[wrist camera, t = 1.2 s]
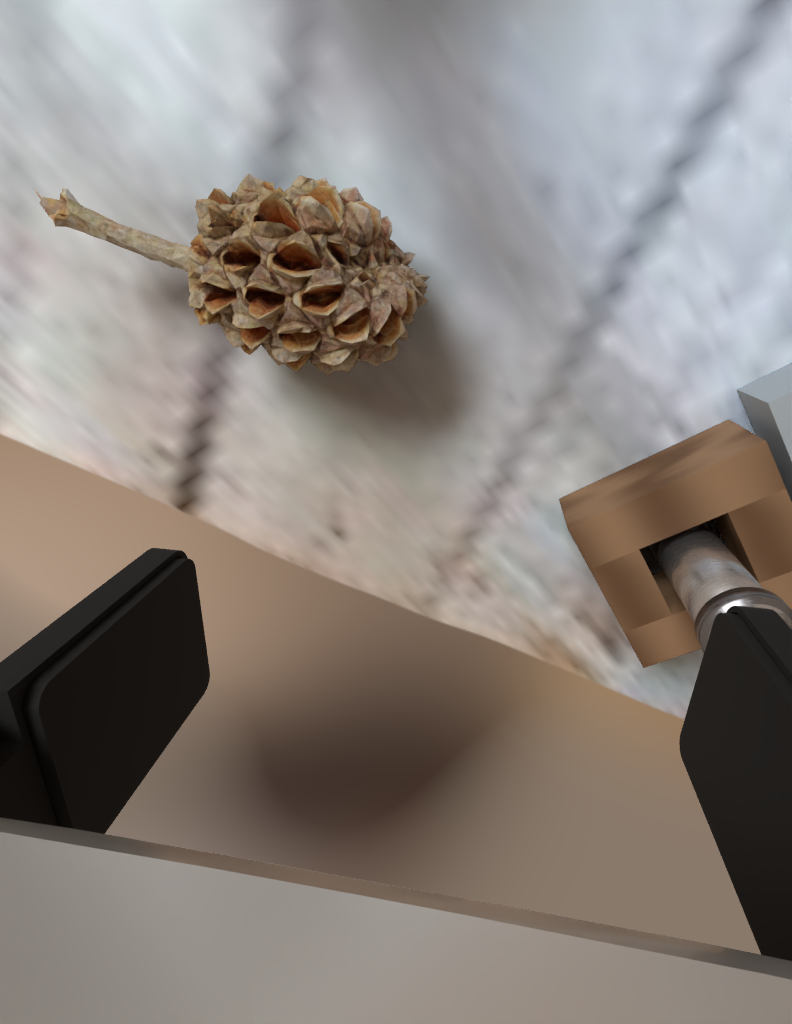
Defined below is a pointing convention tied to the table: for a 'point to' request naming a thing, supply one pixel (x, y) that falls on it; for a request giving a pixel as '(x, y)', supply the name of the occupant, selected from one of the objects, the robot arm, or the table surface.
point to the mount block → (682, 529)
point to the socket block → (773, 417)
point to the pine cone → (285, 270)
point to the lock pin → (711, 579)
